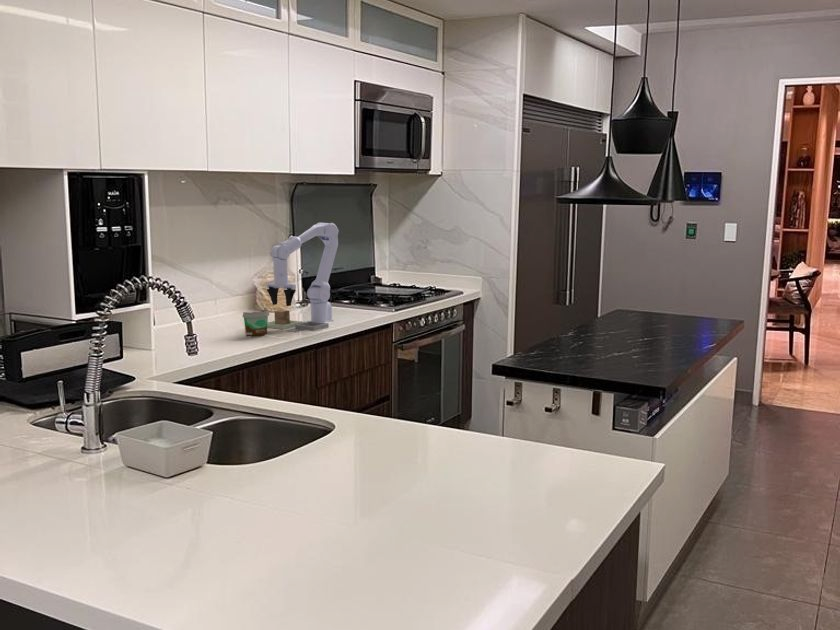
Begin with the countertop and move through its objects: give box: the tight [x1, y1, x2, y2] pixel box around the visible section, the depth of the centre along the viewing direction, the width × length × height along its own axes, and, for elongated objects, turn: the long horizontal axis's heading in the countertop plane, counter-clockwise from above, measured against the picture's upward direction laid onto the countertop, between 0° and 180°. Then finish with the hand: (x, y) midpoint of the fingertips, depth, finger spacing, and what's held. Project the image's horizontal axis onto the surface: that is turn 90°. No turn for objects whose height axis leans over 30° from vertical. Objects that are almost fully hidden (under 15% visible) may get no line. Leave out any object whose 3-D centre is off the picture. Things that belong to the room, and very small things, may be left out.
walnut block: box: [274, 309, 291, 325], centre depth 357 cm, size 4×4×6 cm
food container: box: [242, 308, 270, 338], centre depth 337 cm, size 12×6×10 cm, turn 143°
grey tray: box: [294, 321, 329, 332], centre depth 352 cm, size 10×10×2 cm
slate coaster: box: [284, 328, 304, 333], centre depth 346 cm, size 6×6×1 cm
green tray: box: [267, 320, 303, 330], centre depth 357 cm, size 12×12×2 cm
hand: (281, 305), depth 356 cm, fingers open, 7 cm apart
